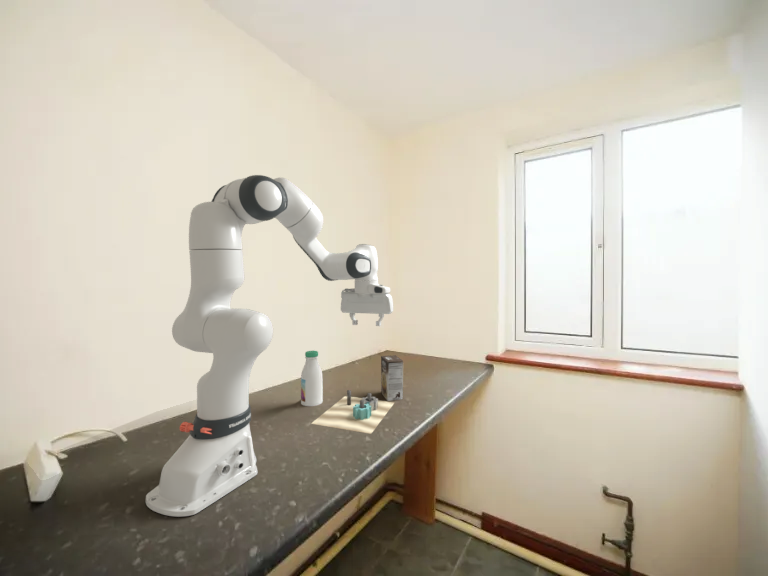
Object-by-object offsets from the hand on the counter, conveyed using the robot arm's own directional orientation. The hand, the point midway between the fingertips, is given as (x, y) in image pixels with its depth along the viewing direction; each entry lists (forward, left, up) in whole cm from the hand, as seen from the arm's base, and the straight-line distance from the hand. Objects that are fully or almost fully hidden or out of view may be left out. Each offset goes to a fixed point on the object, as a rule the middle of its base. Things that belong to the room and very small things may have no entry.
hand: (366, 325), depth 112 cm
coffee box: (+6, -8, -29) cm, 31 cm away
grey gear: (-7, -4, -28) cm, 29 cm away
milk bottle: (-9, +18, -29) cm, 36 cm away
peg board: (-12, -1, -29) cm, 32 cm away
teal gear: (-14, -4, -28) cm, 31 cm away
